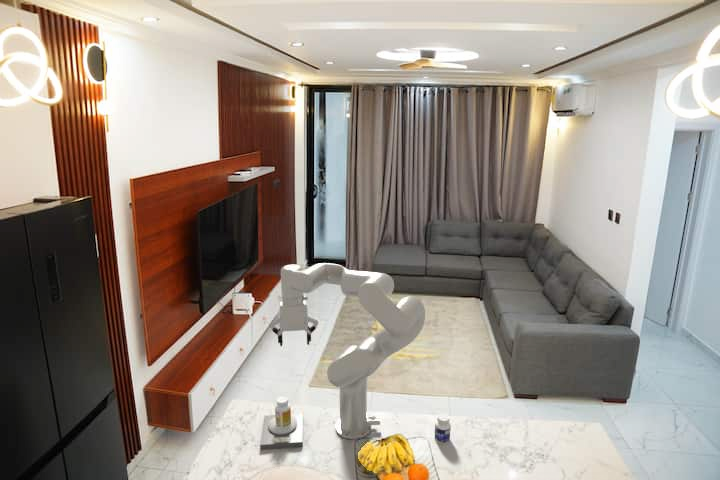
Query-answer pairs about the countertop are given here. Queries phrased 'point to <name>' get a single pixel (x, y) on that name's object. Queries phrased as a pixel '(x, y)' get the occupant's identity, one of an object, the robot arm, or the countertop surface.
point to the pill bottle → (442, 429)
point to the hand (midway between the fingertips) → (294, 343)
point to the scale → (282, 433)
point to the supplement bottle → (282, 412)
